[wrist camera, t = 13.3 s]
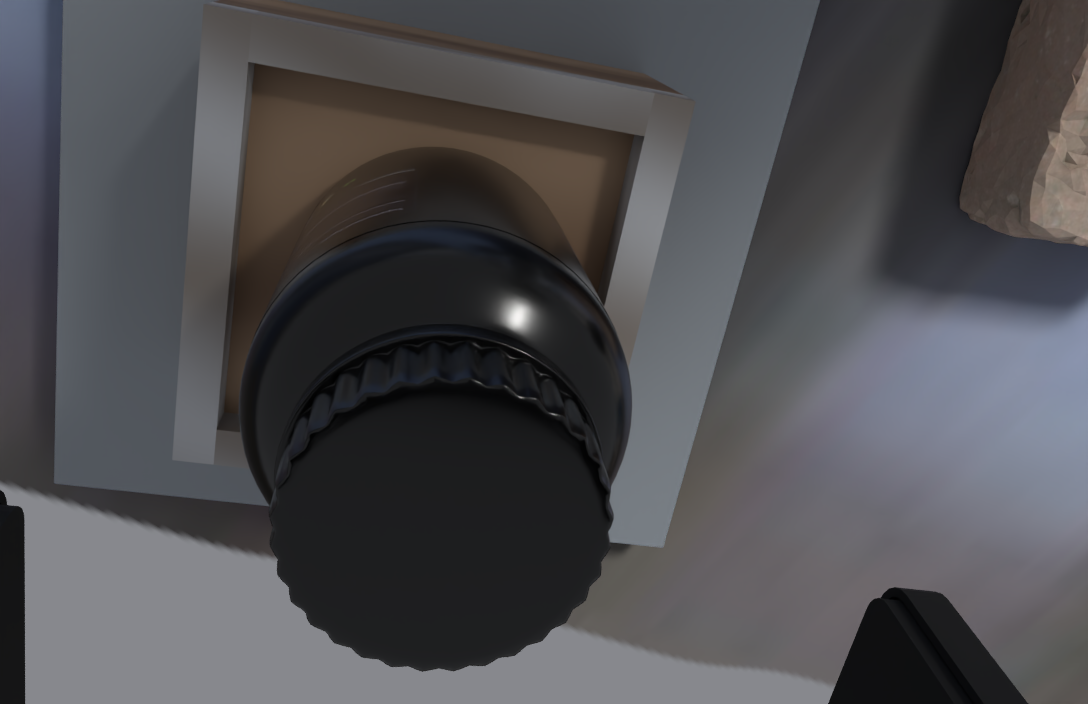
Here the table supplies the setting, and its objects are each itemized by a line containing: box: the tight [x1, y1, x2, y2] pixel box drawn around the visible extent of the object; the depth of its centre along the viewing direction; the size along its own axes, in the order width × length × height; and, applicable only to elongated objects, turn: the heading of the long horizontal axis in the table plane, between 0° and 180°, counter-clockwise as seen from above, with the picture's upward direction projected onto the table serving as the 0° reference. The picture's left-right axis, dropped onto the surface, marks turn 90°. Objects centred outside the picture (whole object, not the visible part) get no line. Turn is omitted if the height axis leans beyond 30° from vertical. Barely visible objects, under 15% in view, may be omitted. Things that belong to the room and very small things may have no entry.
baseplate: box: [54, 0, 820, 548], centre depth 29 cm, size 20×20×2 cm
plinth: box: [172, 0, 696, 469], centre depth 26 cm, size 11×11×6 cm
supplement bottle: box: [239, 147, 632, 672], centre depth 19 cm, size 7×7×12 cm
